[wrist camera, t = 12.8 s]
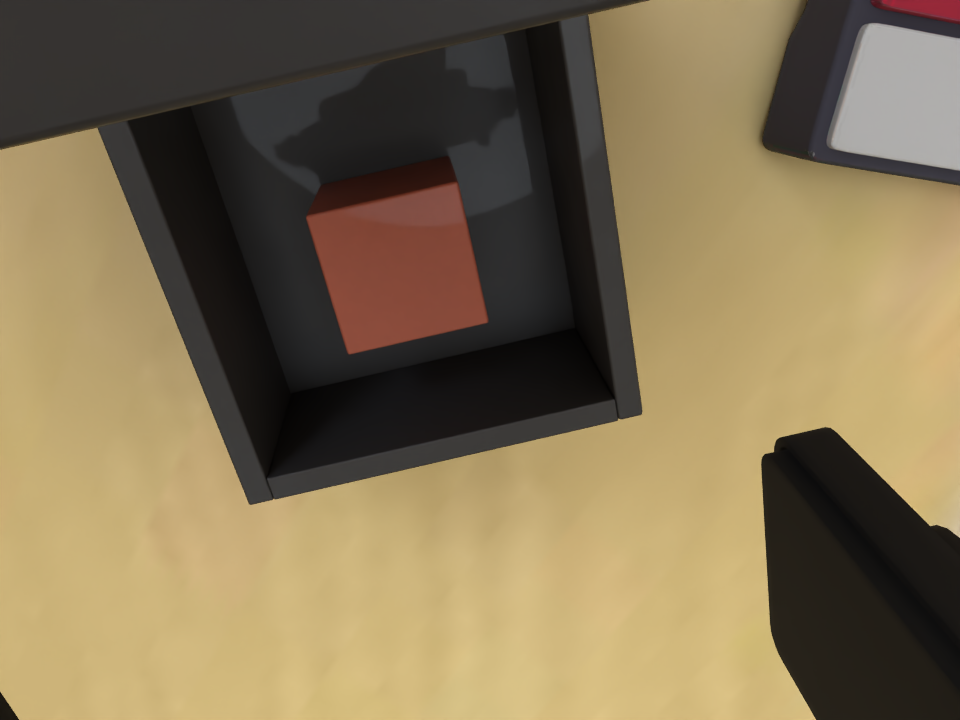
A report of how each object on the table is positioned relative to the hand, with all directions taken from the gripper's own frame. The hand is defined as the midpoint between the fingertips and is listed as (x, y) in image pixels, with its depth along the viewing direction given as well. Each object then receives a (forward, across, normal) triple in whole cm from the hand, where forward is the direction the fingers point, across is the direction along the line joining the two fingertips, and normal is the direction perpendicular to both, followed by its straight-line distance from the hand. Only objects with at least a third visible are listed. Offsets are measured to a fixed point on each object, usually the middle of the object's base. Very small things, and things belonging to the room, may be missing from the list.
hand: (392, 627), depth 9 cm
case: (+21, 0, -1) cm, 21 cm away
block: (+20, 0, +1) cm, 20 cm away
